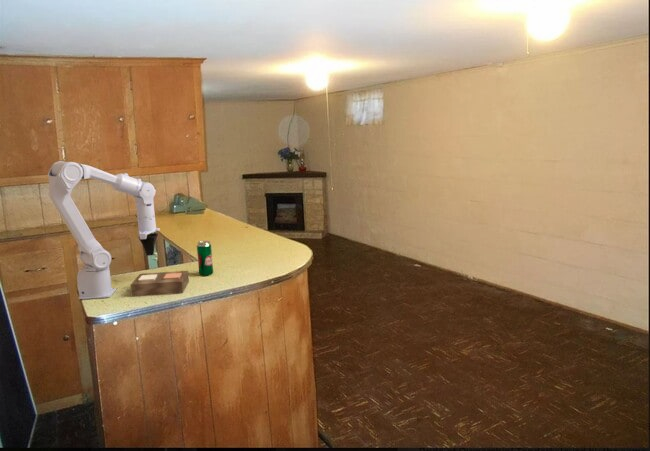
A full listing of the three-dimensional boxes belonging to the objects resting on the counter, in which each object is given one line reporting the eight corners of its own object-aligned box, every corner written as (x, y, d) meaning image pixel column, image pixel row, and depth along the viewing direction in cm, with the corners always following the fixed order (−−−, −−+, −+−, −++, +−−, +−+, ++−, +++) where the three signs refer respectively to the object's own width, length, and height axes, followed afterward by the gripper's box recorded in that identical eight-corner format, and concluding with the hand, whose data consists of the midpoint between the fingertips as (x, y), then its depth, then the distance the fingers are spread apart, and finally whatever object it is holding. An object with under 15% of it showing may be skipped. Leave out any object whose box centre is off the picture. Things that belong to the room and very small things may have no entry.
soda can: (208, 276, 178) (205, 244, 176) (196, 275, 180) (193, 243, 178) (216, 272, 183) (213, 241, 181) (204, 271, 185) (201, 240, 183)
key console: (131, 296, 160) (130, 284, 159) (141, 284, 172) (140, 273, 171) (182, 293, 162) (181, 281, 161) (188, 281, 173) (187, 270, 173)
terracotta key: (164, 285, 164) (163, 278, 164) (167, 280, 169) (166, 273, 168) (179, 284, 165) (178, 277, 164) (182, 279, 169) (181, 272, 169)
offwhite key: (138, 287, 163) (138, 279, 163) (142, 282, 168) (141, 275, 168) (154, 286, 164) (153, 278, 163) (157, 281, 169) (157, 274, 168)
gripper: (153, 219, 165) (157, 259, 167) (162, 212, 179) (166, 249, 182) (131, 221, 164) (135, 260, 167) (142, 213, 178) (146, 250, 181)
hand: (150, 254), depth 174 cm, fingers closed
